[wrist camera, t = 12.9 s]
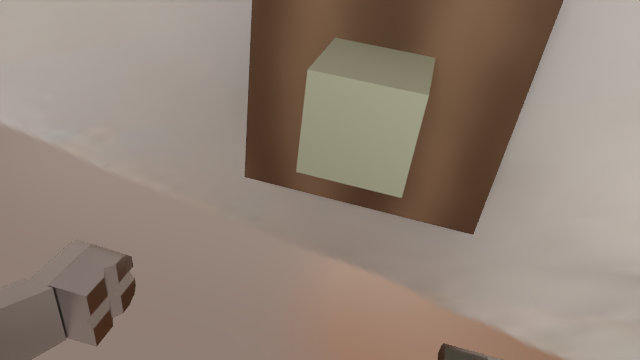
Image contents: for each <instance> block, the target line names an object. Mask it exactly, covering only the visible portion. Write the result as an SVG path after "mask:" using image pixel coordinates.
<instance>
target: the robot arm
mask: <svg viewBox="0 0 640 360" xmlns="http://www.w3.org/2000/svg"><path fill="white" fill-rule="evenodd" d="M132 267H133V263H132V257H131V256H128V255H126V254H122V253H119V252H116V251H113V250H110V249H107V248H103V247H100V246H97V245H93V244H90V243H86V242H83V241H80V240H76V241H73V242H71V243H70V244H68V245H67V247H65V248H64V249H63V250H62V251H61V252H60V253H59V254H57V255H56V256H55V257H54V258H53V259H52V260H51V261H50V262H49V263H48V264H47V265H45V266H44V267H43V268H42V269H41V270H40V271H39V272H38V273H37V274H36V275H34V276H33V277H32V278H31V279H30V280H25V279H23V280H20V281H17V282H15V283H12V284H9V285H6V286H4V287H1V288H0V360H32V359H33V358H35V357H37V356H39V355H40V354H42V353H44V352H46V351H47V350H49V349H51V348H52V347H54V346H56V345H58V344H59V343H61V342H63V341H65V340H66V338H69V339H73V340H76V341H80V342H83V343H87V344H91V345H94V346H97V345H98V344H99V343H100V342H101V340H102V339H103V338H104V337H105V335H106V334H107V333H108V332H109V330H110V329H111V328H112V327H113V318H114V317H116V316H118V315H120V314H122V313H124V311H125V310H126V309H127V307H128V306H129V305H130V303H131V300H132V298H133V296H134V293H135V286H136V285H135V278H134V277H133V276H132V274H131V273H130V272H129V270H130V269H131V268H132ZM438 360H502V359H498V358H494V357H491V356H487V355H484V354H481V353H478V352H474V351H470V350H467V349H463V348H459V347H455V346H452V345H448V344H443V345H442V346H441V348H440V350H439V352H438Z"/></svg>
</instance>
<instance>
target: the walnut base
mask: <svg viewBox="0 0 640 360" xmlns="http://www.w3.org/2000/svg"><path fill="white" fill-rule="evenodd" d="M562 3H563V0H252V20H251V43H250V66H249V90H248V113H247V137H246V160H245V177H247V178H251V179H255V180H259V181H263V182H267V183H271V184H275V185H279V186H283V187H287V188H291V189H295V190H299V191H303V192H307V193H311V194H314V195H318V196H322V197H326V198H330V199H334V200H338V201H342V202H346V203H350V204H354V205H358V206H362V207H366V208H370V209H374V210H378V211H382V212H386V213H390V214H394V215H398V216H402V217H405V218H409V219H413V220H417V221H421V222H425V223H429V224H433V225H437V226H441V227H445V228H449V229H453V230H457V231H461V232H465V233H469V234H474V231H475V228H476V226H477V223H478V221H479V218H480V215H481V213H482V210H483V208H484V205H485V202H486V200H487V197H488V195H489V192H490V190H491V187H492V184H493V182H494V179H495V177H496V174H497V171H498V169H499V166H500V164H501V161H502V158H503V156H504V153H505V151H506V148H507V145H508V143H509V140H510V138H511V135H512V132H513V130H514V127H515V125H516V122H517V119H518V117H519V114H520V112H521V109H522V106H523V104H524V101H525V99H526V96H527V93H528V91H529V88H530V86H531V83H532V80H533V78H534V75H535V73H536V70H537V67H538V65H539V62H540V60H541V57H542V54H543V52H544V49H545V47H546V44H547V41H548V39H549V36H550V34H551V31H552V28H553V26H554V23H555V21H556V18H557V15H558V13H559V10H560V8H561V5H562ZM334 38H340V39H345V40H350V41H355V42H360V43H364V44H369V45H374V46H379V47H384V48H389V49H394V50H399V51H404V52H409V53H414V54H419V55H424V56H429V57H434V58H436V59H435V65H434V70H433V76H432V81H431V87H430V92H429V97H428V101H427V105H426V108H425V112H424V116H423V120H422V123H421V127H420V131H419V135H418V139H417V142H416V146H415V150H414V154H413V157H412V161H411V165H410V169H409V172H408V176H407V180H406V184H405V188H404V191H403V195H402V198H400V197H396V196H391V195H387V194H383V193H379V192H375V191H371V190H367V189H363V188H359V187H355V186H351V185H347V184H343V183H339V182H335V181H331V180H327V179H323V178H319V177H315V176H311V175H307V174H303V173H298V172H296V168H297V159H298V150H299V141H300V133H301V124H302V115H303V106H304V97H305V88H306V79H307V70H308V68H309V67H310V66H311V65H312V64H313V63H314V62H315V60H316V59H317V58H318V57H319V56H320V55H321V53H322V52H323V51H324V50H325V49H326V48H327V47H328V45H329V44H330V43H331V42H332V41H333V40H334Z"/></svg>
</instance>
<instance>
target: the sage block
mask: <svg viewBox="0 0 640 360" xmlns="http://www.w3.org/2000/svg"><path fill="white" fill-rule="evenodd" d="M435 59H436V58H434V57H429V56H424V55H419V54H414V53H409V52H404V51H399V50H394V49H389V48H384V47H379V46H374V45H369V44H364V43H360V42H355V41H350V40H345V39H340V38H334V40H333V41H332V42H331V43H330V44H329V45H328V47H327V48H326V49H325V50H324V51H323V52H322V53H321V55H320V56H319V57H318V58H317V59H316V60H315V62H314V63H313V64H312V65H311V66H310V67H309V68H308V70H307V79H306V88H305V97H304V106H303V115H302V124H301V133H300V141H299V150H298V159H297V168H296V172H298V173H303V174H307V175H311V176H315V177H319V178H323V179H327V180H331V181H335V182H339V183H343V184H347V185H351V186H355V187H359V188H363V189H367V190H371V191H375V192H379V193H383V194H387V195H391V196H396V197H400V198H402V195H403V191H404V188H405V184H406V180H407V176H408V172H409V169H410V165H411V161H412V157H413V154H414V150H415V146H416V142H417V139H418V135H419V131H420V127H421V123H422V120H423V116H424V112H425V108H426V105H427V101H428V97H429V92H430V87H431V81H432V76H433V70H434V65H435Z"/></svg>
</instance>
